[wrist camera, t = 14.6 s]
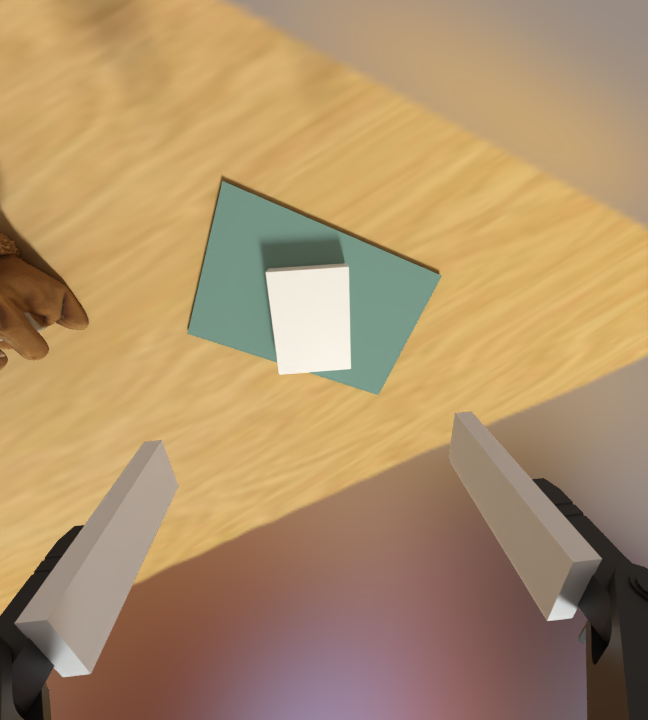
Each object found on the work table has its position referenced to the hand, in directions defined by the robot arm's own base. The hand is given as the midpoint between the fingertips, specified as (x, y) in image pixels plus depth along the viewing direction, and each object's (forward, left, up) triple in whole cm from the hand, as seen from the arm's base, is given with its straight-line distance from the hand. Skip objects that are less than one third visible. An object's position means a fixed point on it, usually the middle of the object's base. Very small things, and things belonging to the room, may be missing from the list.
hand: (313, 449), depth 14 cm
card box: (+3, -5, -21) cm, 21 cm away
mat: (0, +1, -23) cm, 23 cm away
